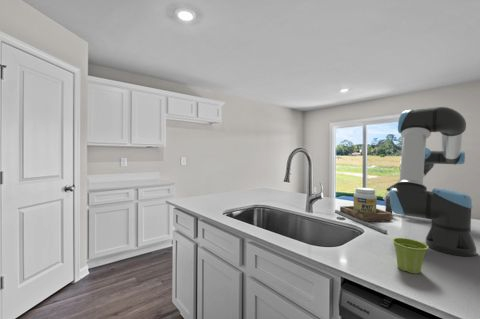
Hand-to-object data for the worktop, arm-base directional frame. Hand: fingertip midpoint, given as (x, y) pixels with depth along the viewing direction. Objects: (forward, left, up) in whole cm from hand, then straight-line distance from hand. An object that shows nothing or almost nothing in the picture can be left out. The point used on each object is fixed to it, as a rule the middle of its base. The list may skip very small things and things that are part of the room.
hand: (392, 202), depth 144 cm
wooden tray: (-15, +5, -8) cm, 18 cm away
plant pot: (-70, -36, -8) cm, 79 cm away
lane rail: (-32, +4, -8) cm, 34 cm away
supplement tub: (-19, +7, -8) cm, 22 cm away
